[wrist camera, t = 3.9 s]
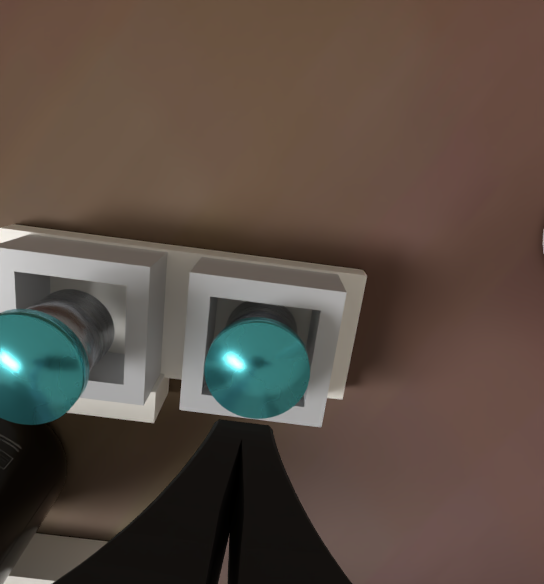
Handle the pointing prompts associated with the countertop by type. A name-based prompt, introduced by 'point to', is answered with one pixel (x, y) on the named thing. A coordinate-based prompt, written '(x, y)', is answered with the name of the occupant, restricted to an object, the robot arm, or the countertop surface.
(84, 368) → the plunger inner
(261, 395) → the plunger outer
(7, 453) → the supplement bottle
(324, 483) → the countertop surface
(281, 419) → the white knob panel
